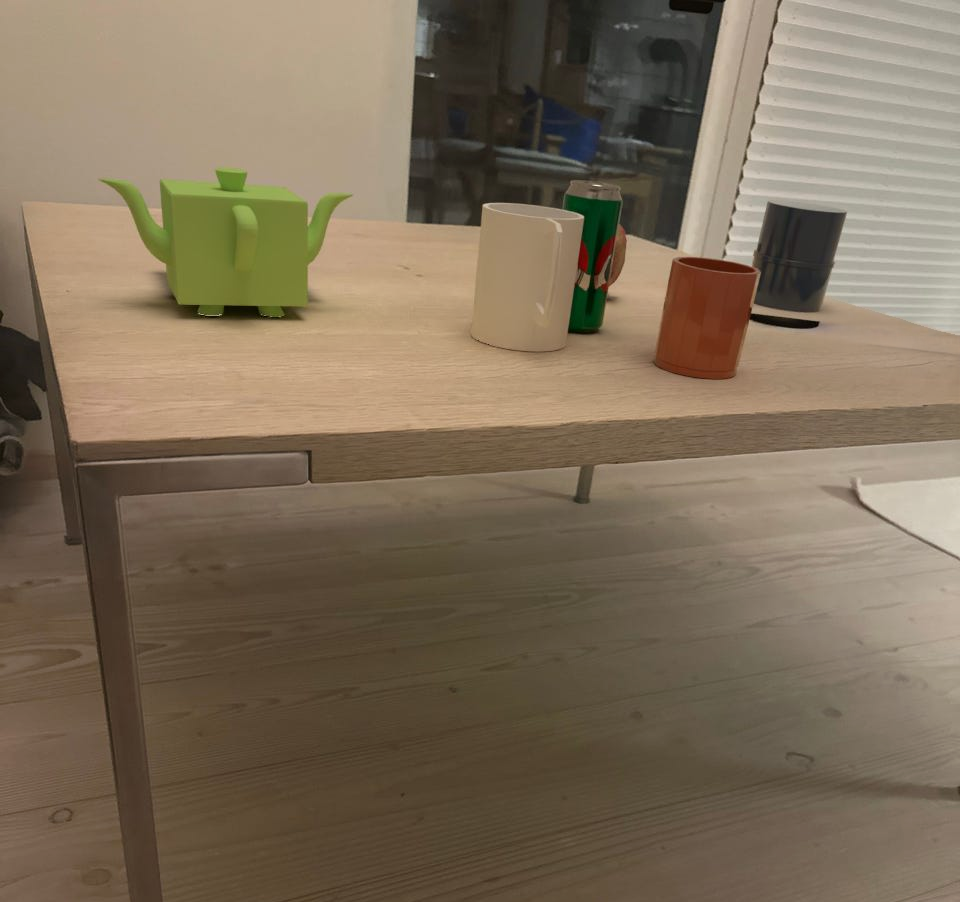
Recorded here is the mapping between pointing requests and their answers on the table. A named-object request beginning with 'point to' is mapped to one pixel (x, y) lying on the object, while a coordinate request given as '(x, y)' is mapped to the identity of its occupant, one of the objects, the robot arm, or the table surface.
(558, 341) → the cup
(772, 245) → the cup stack
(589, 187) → the soda can
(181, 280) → the teapot
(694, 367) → the terracotta cup
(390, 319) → the table surface
